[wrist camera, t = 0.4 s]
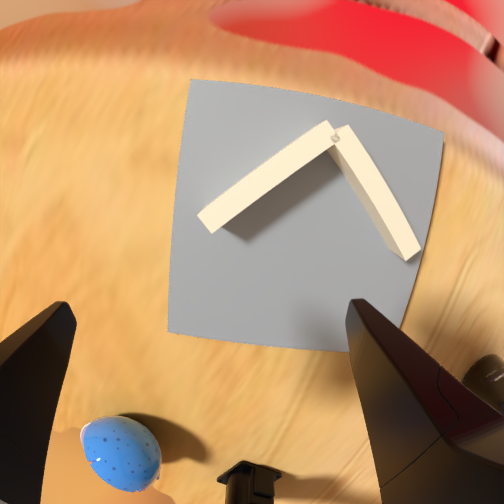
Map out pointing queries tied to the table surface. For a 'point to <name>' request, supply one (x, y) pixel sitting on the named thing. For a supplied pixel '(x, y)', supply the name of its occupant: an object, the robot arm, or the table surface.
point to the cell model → (122, 452)
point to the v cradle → (295, 215)
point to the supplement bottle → (488, 381)
